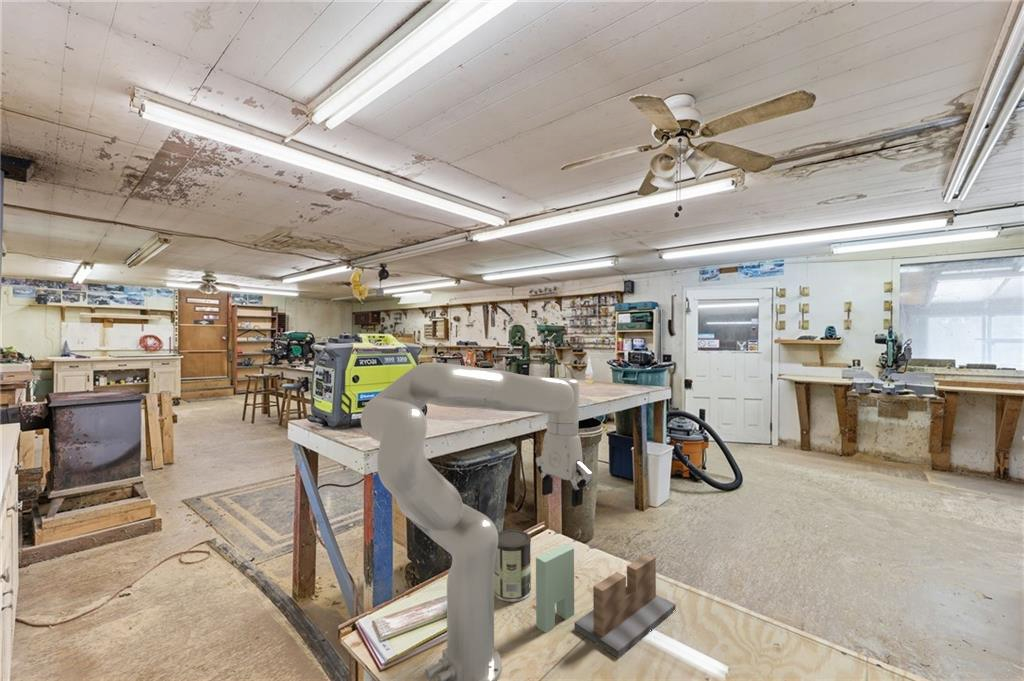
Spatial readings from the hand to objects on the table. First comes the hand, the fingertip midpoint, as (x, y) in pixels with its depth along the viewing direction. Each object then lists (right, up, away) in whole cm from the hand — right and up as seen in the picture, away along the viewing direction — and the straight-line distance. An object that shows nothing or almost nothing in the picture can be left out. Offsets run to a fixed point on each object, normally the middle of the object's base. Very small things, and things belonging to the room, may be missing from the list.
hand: (561, 499), depth 101 cm
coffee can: (-12, -29, +10) cm, 33 cm away
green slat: (-2, -28, -2) cm, 28 cm away
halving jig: (+15, -28, -2) cm, 32 cm away
